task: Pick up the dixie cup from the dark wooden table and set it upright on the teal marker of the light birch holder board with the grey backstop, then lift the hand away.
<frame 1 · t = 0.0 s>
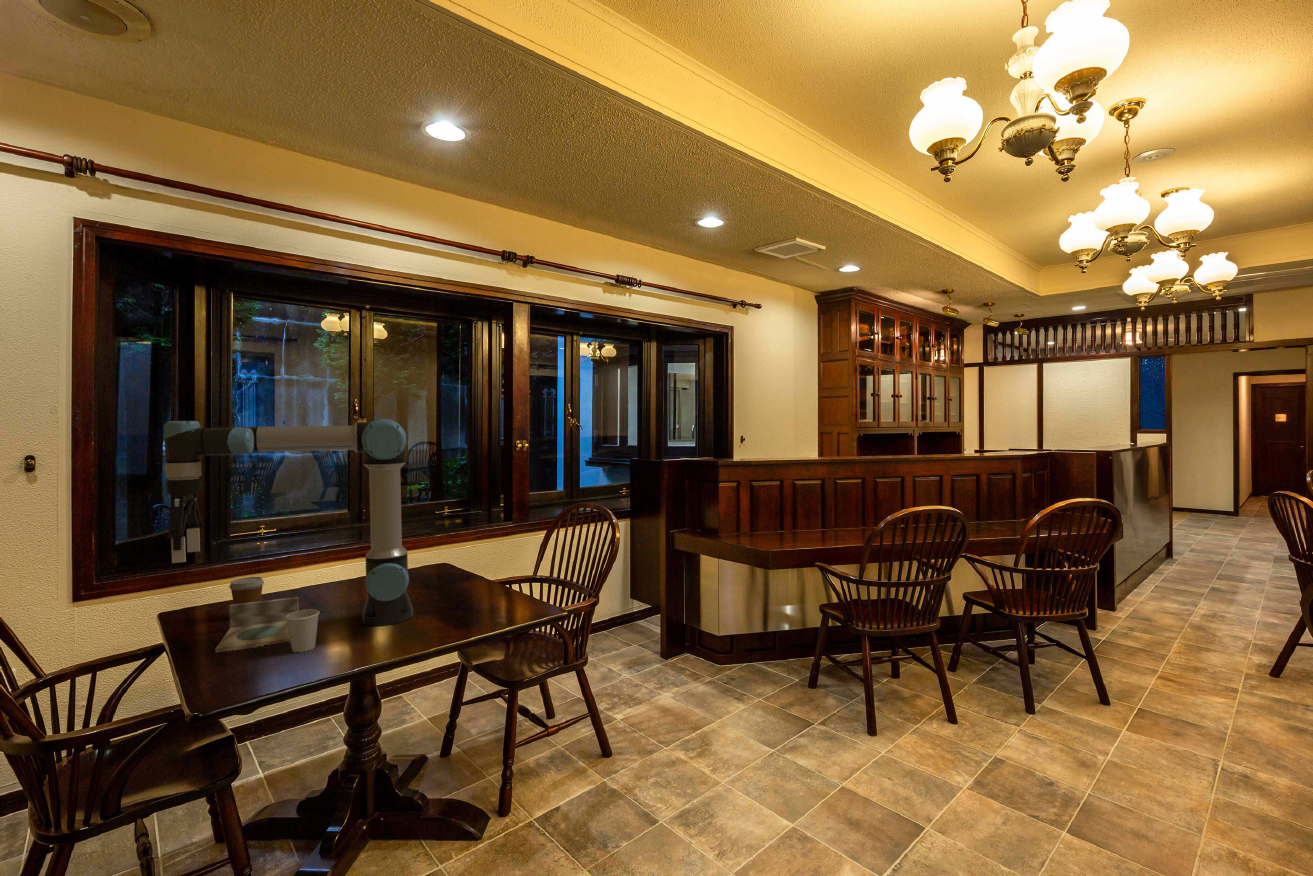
hand: (186, 556, 162), 28 cm above the table, tool pointing down, fingers open, 13 cm apart
dixie cup: (303, 649, 170), on the table
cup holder: (259, 637, 180), on the table
disposable coffee cup: (247, 616, 198), on the table
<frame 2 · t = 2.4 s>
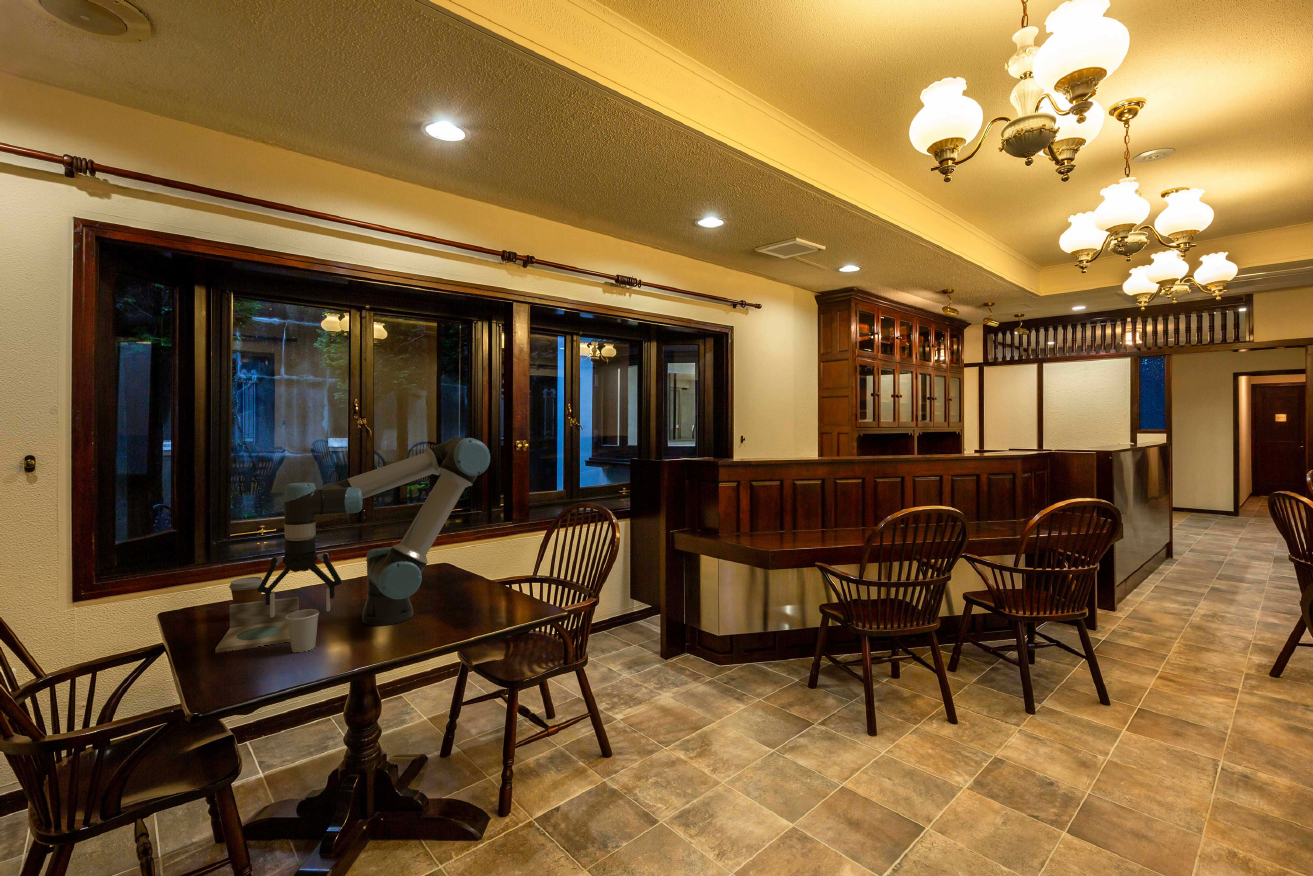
hand: (300, 613, 170), 10 cm above the table, tool pointing down, fingers open, 13 cm apart
nothing on the table moved.
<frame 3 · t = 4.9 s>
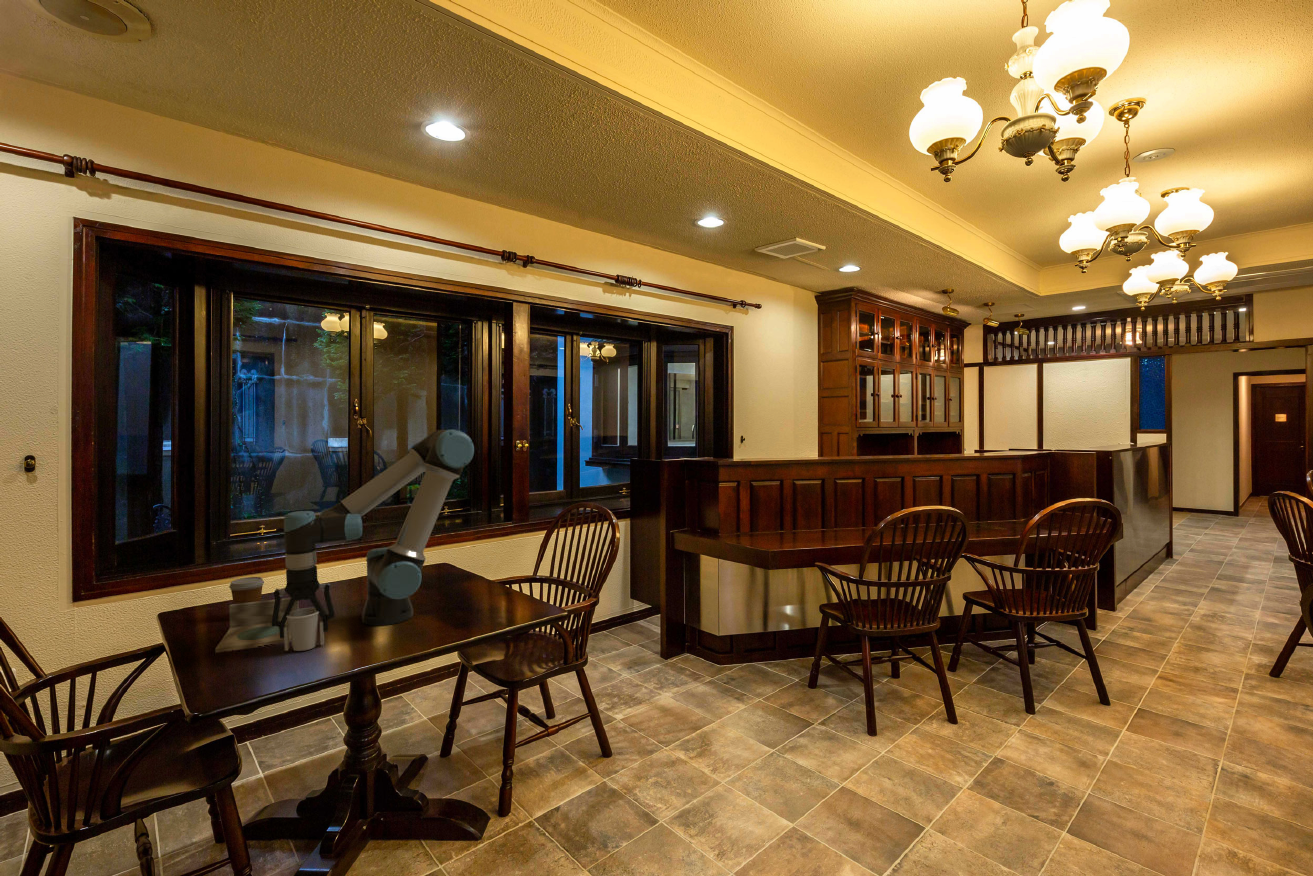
hand: (305, 646, 171), 1 cm above the table, tool pointing down, fingers closed on dixie cup, 8 cm apart
dixie cup: (304, 647, 171), on the table, touching gripper
everything else where it was.
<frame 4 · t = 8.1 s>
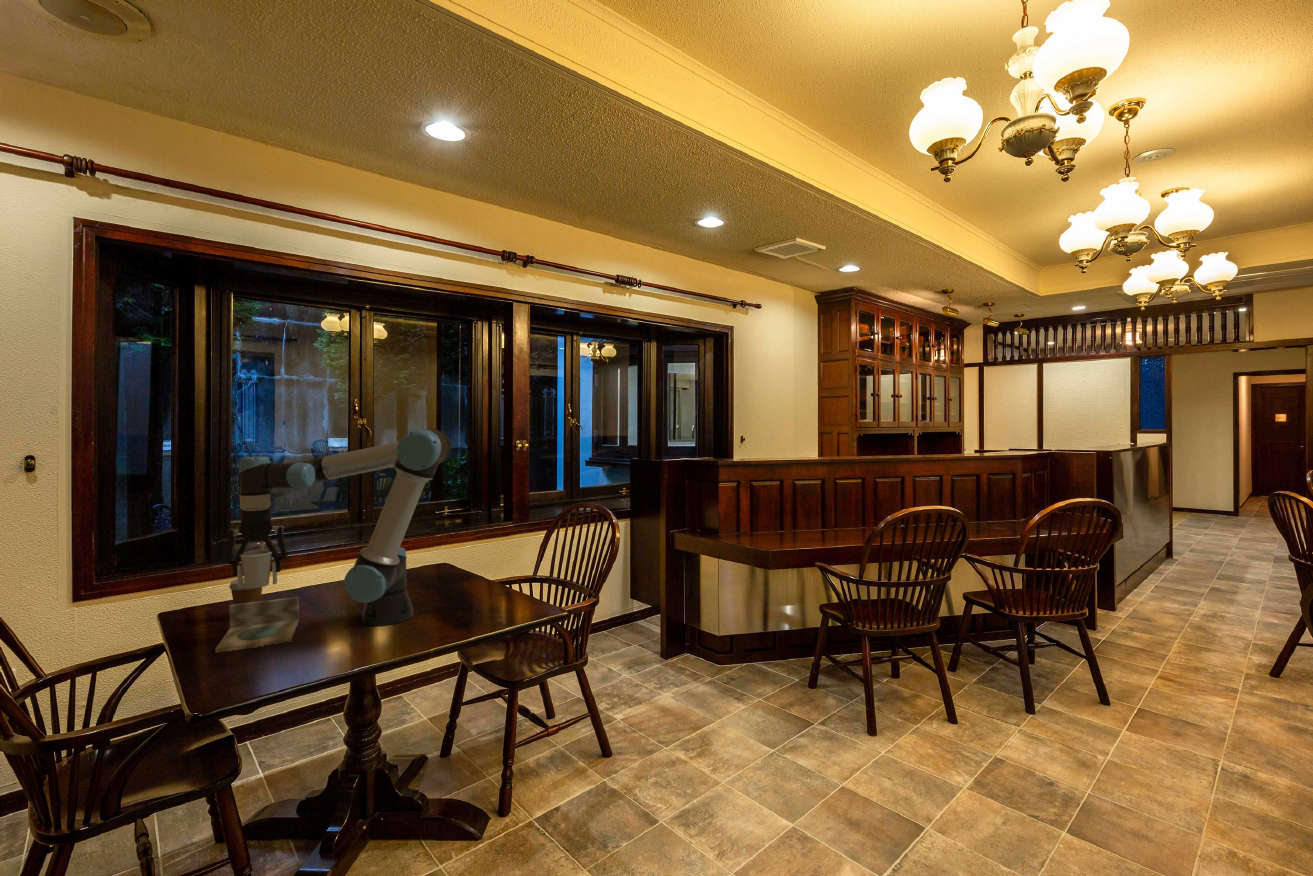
hand: (257, 584, 179), 16 cm above the table, tool pointing down, fingers closed on dixie cup, 8 cm apart
dixie cup: (257, 586, 179), point 15 cm above the table, touching gripper
everything else where it was.
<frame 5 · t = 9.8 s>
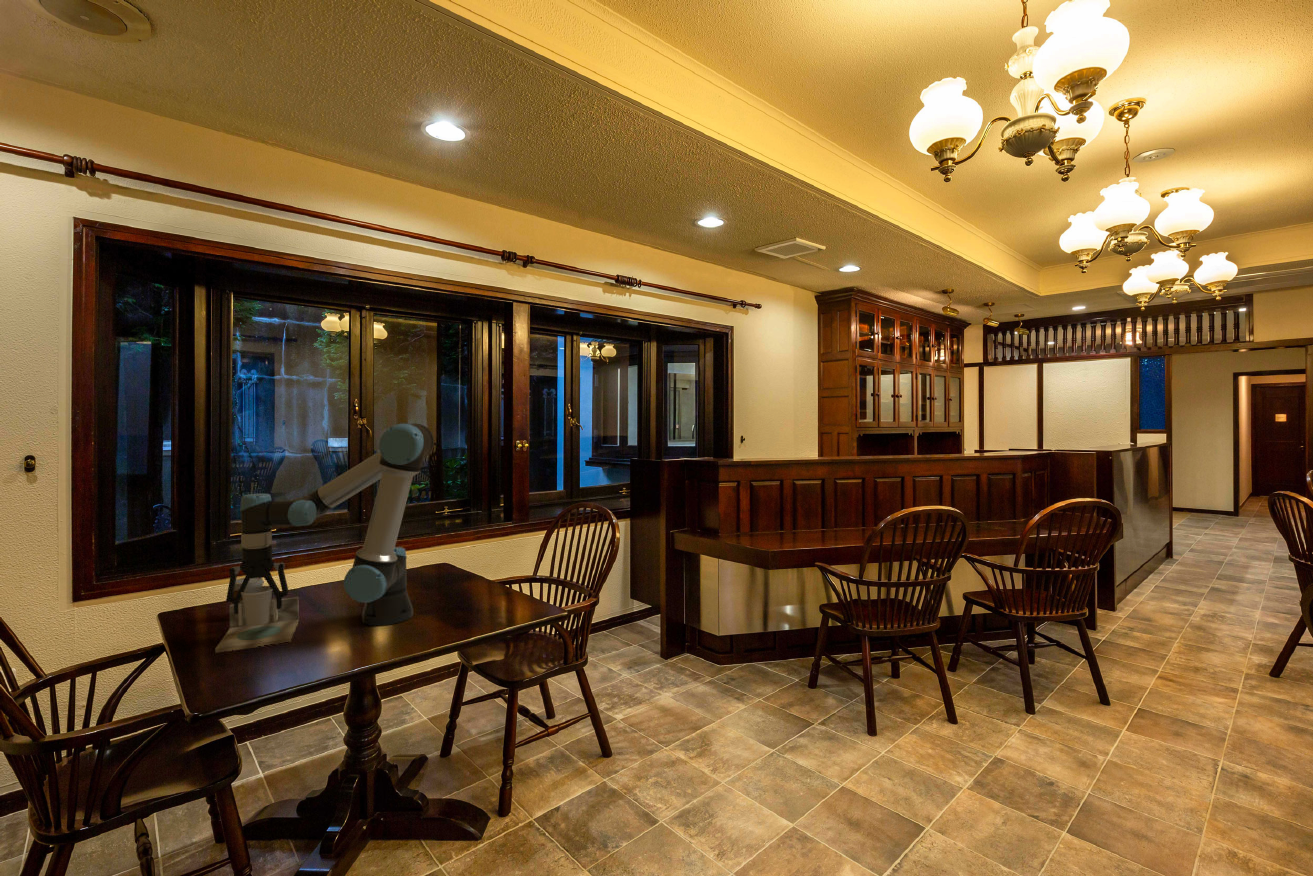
hand: (258, 621, 179), 5 cm above the table, tool pointing down, fingers closed on dixie cup, 8 cm apart
dixie cup: (258, 623, 179), point 4 cm above the table, touching gripper
everything else where it was.
when the fingers open (3 cm above the table, at t = 11.1 s): dixie cup drops 1 cm, resting on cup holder.
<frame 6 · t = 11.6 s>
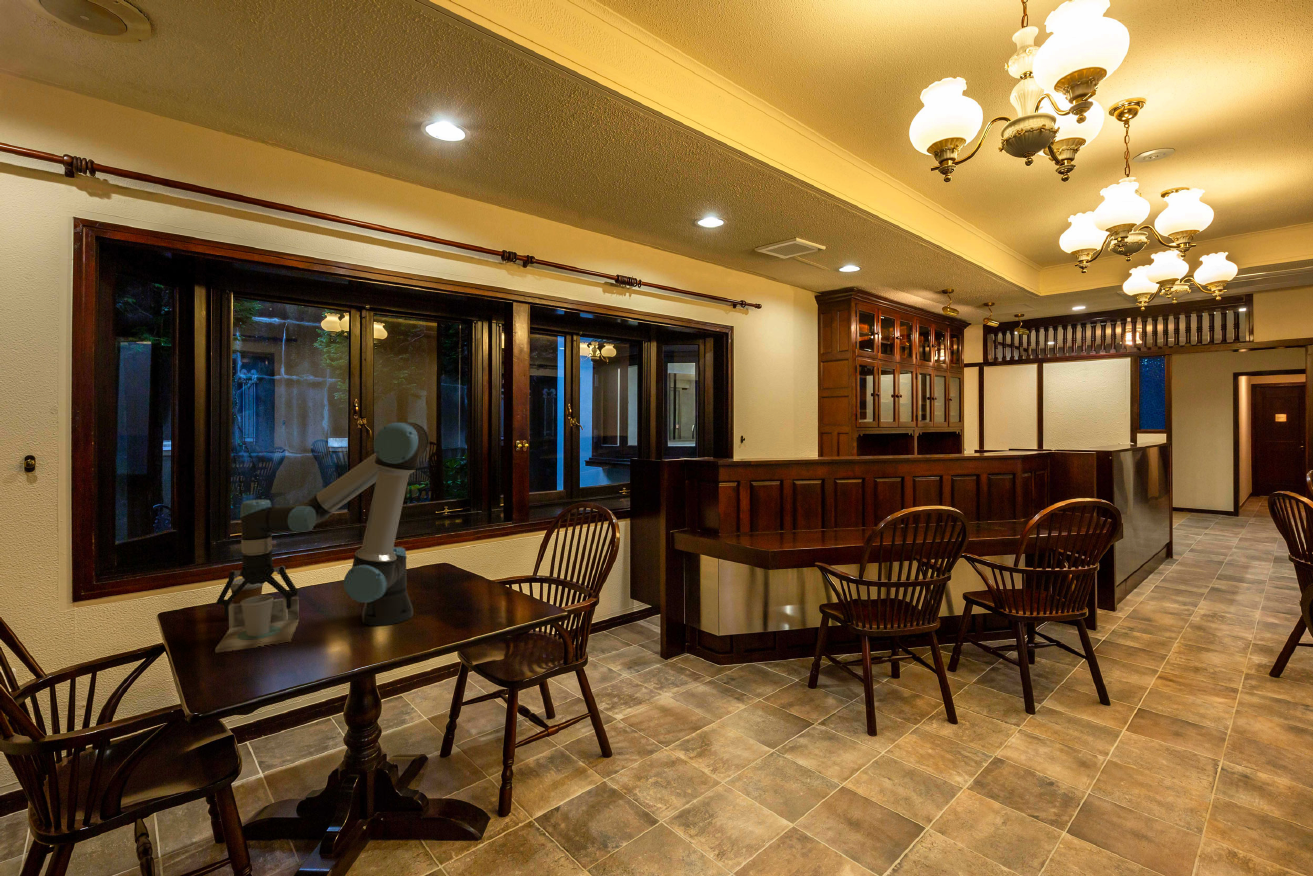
hand: (259, 623, 179), 4 cm above the table, tool pointing down, fingers open, 13 cm apart
dixie cup: (258, 633, 179), point 1 cm above the table, touching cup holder
everything else where it was.
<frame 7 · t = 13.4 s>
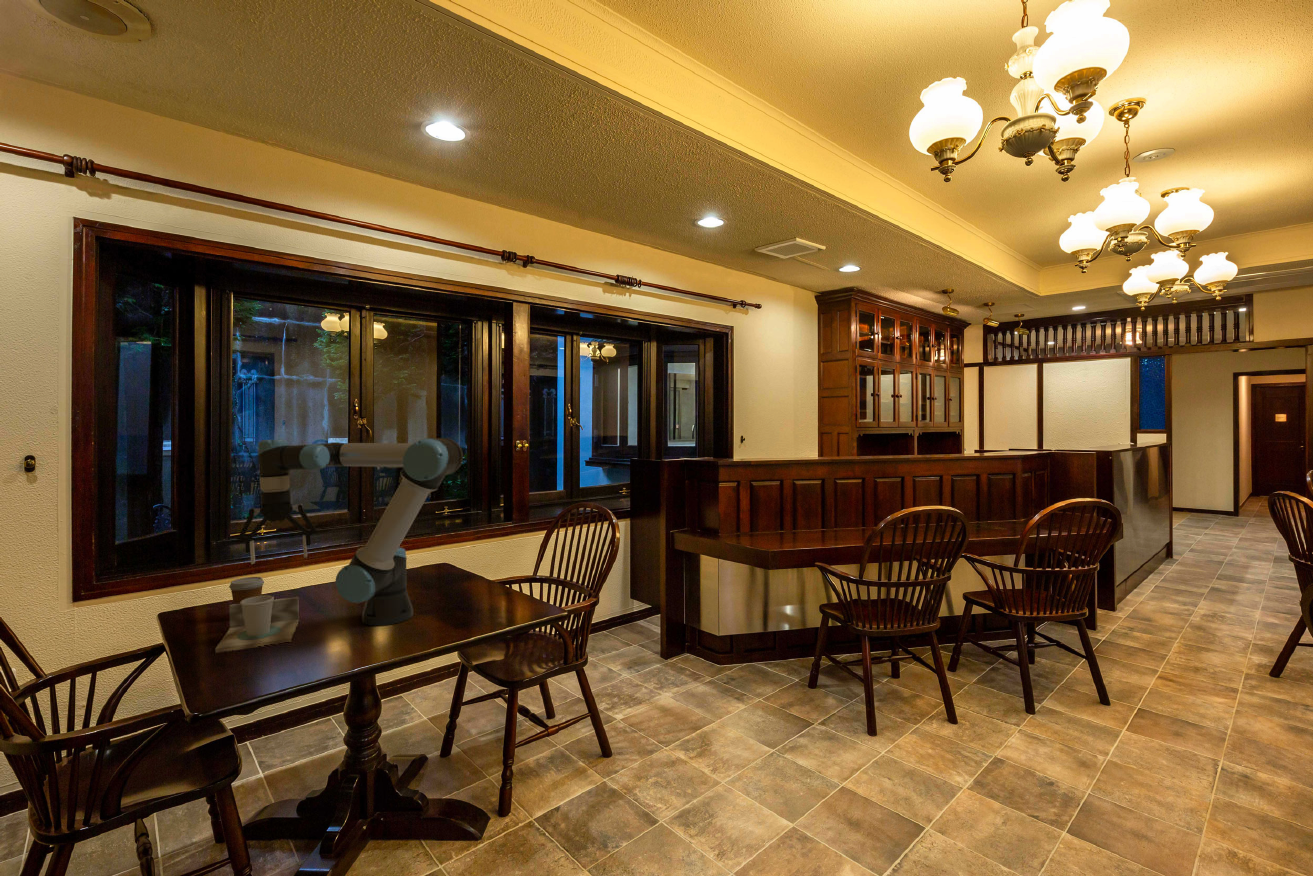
hand: (279, 559, 183), 22 cm above the table, tool pointing down, fingers open, 13 cm apart
nothing on the table moved.
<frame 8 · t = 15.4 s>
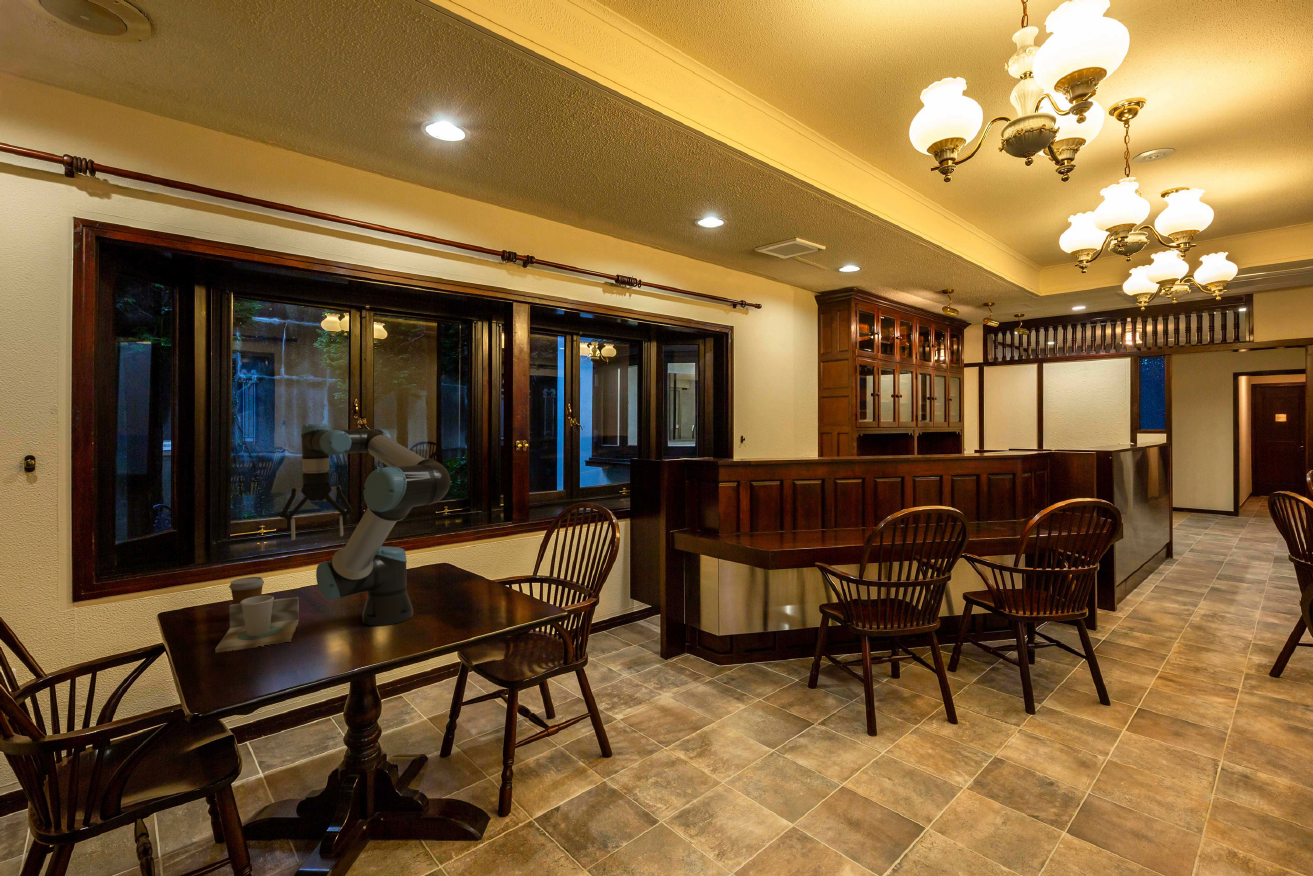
hand: (317, 537, 194), 27 cm above the table, tool pointing down, fingers open, 13 cm apart
nothing on the table moved.
at the end: dixie cup 0.3 cm off-centre on the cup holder, point 1.2 cm above the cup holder's base; dixie cup tilted 0°; the gripper is holding nothing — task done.
